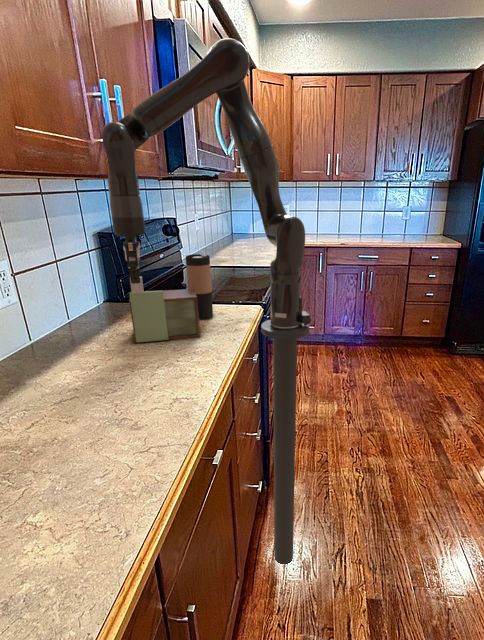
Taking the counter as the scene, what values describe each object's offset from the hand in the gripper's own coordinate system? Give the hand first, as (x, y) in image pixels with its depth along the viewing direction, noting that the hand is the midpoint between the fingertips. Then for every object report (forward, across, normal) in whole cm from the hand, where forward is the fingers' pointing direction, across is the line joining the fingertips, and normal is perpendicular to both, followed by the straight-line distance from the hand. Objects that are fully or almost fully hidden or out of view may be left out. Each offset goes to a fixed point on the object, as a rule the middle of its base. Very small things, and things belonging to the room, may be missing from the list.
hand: (136, 279), depth 111 cm
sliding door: (+17, 0, -2) cm, 18 cm away
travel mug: (+18, +21, -19) cm, 33 cm away
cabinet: (+18, +6, -7) cm, 20 cm away
